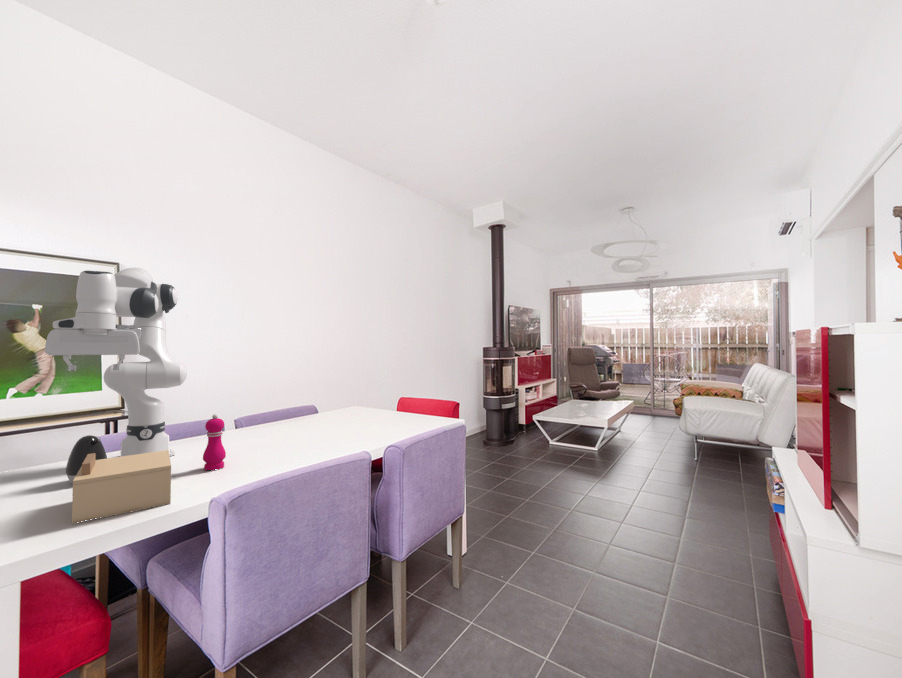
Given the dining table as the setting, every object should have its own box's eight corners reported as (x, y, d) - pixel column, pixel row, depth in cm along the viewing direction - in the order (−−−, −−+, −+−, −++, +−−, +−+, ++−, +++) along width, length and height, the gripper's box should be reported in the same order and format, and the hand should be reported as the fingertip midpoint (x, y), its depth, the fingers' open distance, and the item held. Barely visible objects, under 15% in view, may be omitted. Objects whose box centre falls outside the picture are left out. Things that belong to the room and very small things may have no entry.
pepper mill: (230, 465, 141) (231, 413, 141) (213, 472, 134) (214, 416, 134) (215, 464, 143) (215, 412, 143) (197, 470, 136) (198, 415, 136)
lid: (83, 465, 110) (84, 451, 110) (168, 453, 123) (168, 440, 123) (72, 485, 94) (73, 469, 95) (171, 468, 107) (171, 455, 107)
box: (83, 499, 110) (83, 465, 110) (167, 483, 123) (168, 453, 123) (71, 524, 94) (72, 485, 95) (170, 503, 107) (171, 469, 107)
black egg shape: (77, 488, 118) (78, 440, 119) (57, 484, 122) (59, 437, 122) (115, 477, 128) (116, 433, 128) (96, 474, 131) (97, 431, 132)
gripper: (141, 326, 120) (140, 369, 119) (49, 323, 107) (47, 371, 106) (141, 324, 115) (140, 369, 114) (44, 321, 102) (42, 372, 101)
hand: (94, 370), depth 110 cm, fingers open, 8 cm apart
